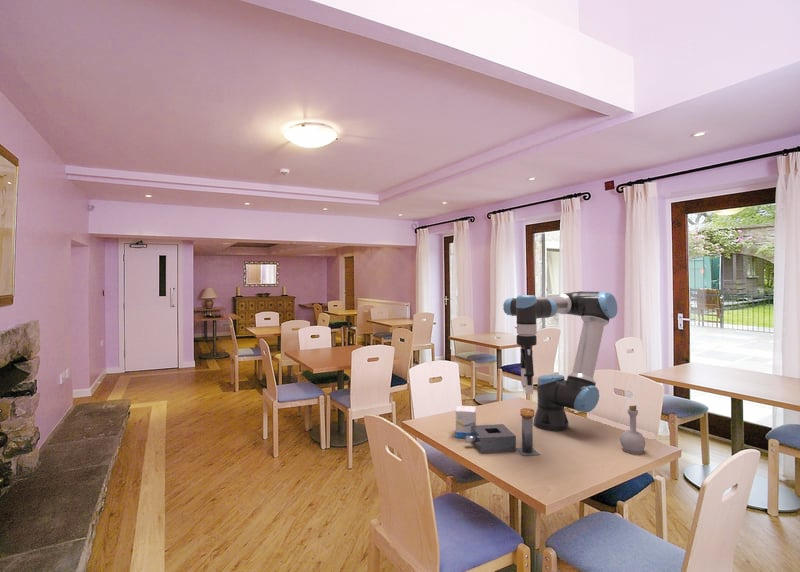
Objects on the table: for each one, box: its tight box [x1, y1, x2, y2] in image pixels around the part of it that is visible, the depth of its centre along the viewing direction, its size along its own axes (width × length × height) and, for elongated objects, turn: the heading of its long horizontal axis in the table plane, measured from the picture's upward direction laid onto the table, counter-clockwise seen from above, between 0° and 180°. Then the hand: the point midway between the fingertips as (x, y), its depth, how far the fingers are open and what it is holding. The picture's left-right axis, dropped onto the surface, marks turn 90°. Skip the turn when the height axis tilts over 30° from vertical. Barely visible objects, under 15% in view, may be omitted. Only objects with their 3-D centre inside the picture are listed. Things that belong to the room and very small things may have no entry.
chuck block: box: [465, 423, 517, 454], centre depth 173 cm, size 18×14×6 cm
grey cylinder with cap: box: [519, 407, 535, 453], centre depth 166 cm, size 5×5×16 cm
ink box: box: [455, 405, 477, 439], centre depth 185 cm, size 9×8×12 cm
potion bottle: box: [619, 405, 646, 455], centre depth 167 cm, size 9×9×18 cm
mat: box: [516, 447, 541, 457], centre depth 166 cm, size 7×7×1 cm
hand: (526, 388), depth 167 cm, fingers open, 13 cm apart
